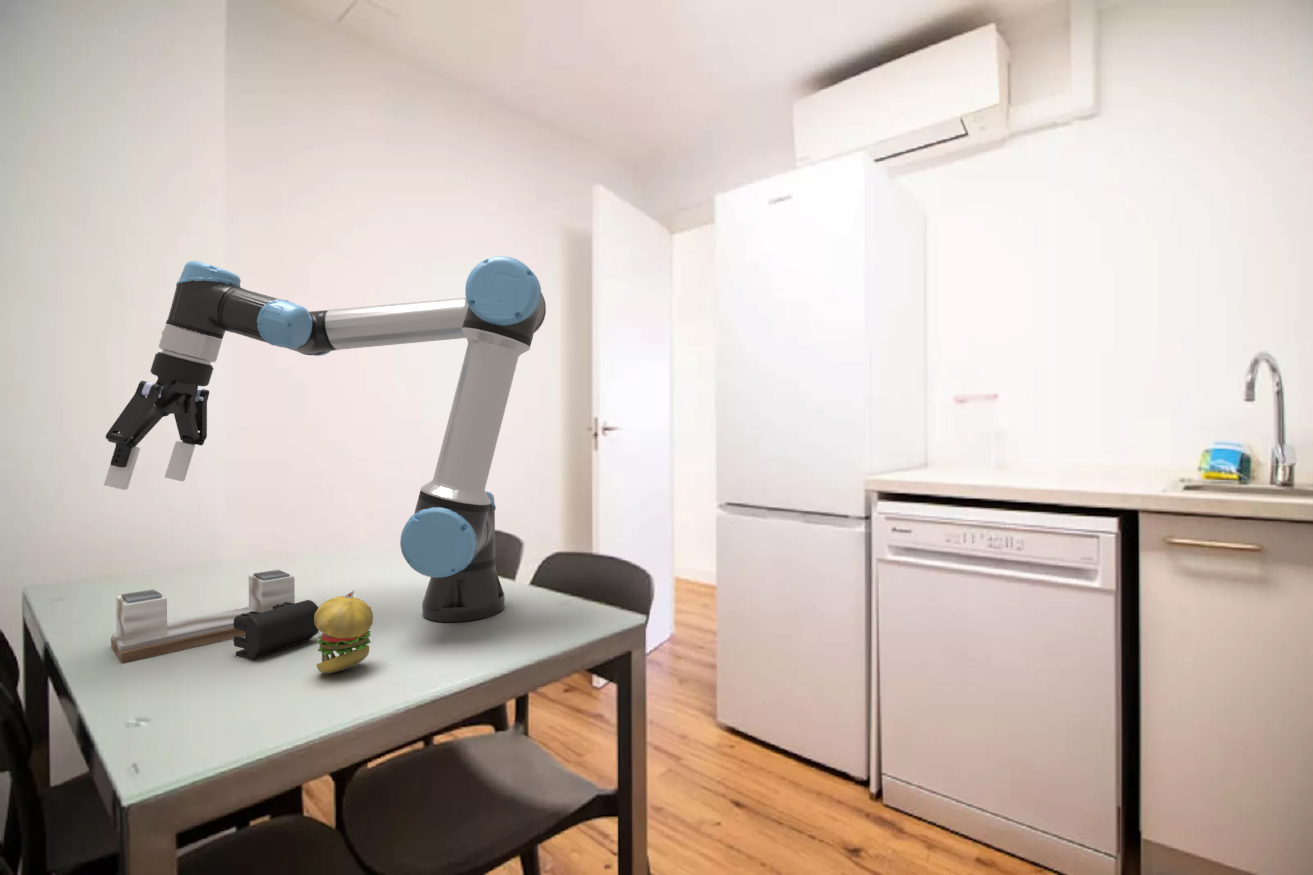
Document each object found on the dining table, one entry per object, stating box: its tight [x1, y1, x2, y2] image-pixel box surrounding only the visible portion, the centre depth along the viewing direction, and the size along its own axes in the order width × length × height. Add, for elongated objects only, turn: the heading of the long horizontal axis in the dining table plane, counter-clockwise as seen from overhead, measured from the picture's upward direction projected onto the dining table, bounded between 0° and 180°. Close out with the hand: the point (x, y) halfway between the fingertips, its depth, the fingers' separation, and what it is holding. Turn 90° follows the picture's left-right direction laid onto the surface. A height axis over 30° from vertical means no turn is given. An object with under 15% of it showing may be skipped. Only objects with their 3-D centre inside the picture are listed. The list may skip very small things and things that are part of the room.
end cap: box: [232, 599, 320, 660], centre depth 92 cm, size 10×7×7 cm
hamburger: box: [314, 589, 374, 674], centre depth 83 cm, size 8×7×12 cm
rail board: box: [110, 569, 296, 664], centre depth 99 cm, size 11×24×9 cm, turn 140°
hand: (147, 483), depth 93 cm, fingers open, 13 cm apart
